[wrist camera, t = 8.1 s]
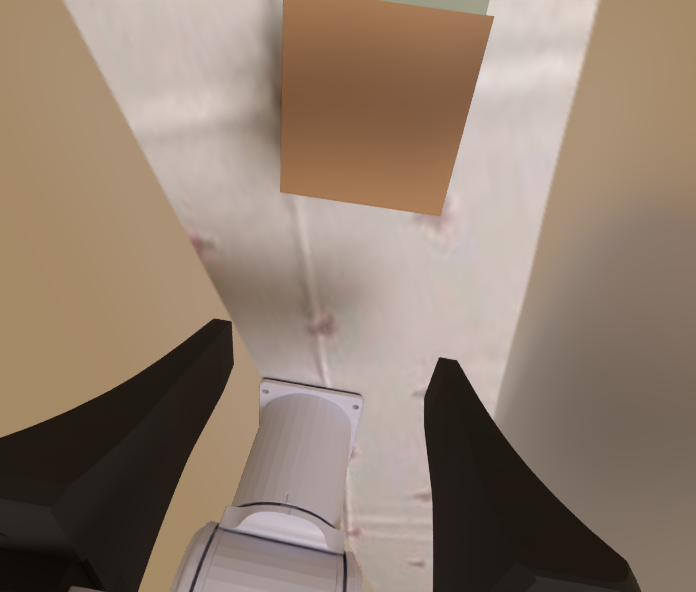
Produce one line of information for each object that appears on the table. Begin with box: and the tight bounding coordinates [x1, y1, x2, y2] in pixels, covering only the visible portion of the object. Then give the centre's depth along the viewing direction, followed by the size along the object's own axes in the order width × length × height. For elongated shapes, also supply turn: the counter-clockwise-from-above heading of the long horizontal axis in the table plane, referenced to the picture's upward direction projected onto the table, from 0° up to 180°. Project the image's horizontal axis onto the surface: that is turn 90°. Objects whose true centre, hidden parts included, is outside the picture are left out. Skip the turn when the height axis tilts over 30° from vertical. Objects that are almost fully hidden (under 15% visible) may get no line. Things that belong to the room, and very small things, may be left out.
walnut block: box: [280, 0, 494, 216], centre depth 11 cm, size 4×4×5 cm
